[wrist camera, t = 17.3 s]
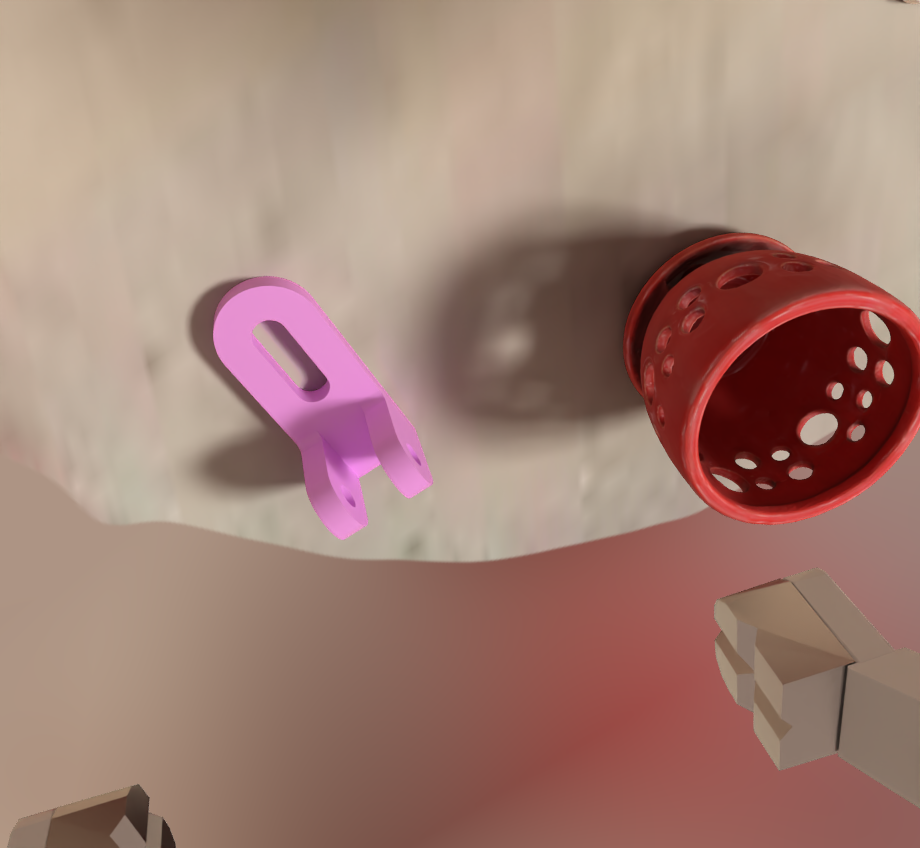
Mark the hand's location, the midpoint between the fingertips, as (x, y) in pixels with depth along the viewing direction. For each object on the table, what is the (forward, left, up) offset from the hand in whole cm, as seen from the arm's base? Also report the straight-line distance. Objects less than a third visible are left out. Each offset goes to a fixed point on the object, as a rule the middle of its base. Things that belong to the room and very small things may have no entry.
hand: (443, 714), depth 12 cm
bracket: (+3, +13, -34) cm, 37 cm away
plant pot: (-20, +16, -34) cm, 43 cm away
